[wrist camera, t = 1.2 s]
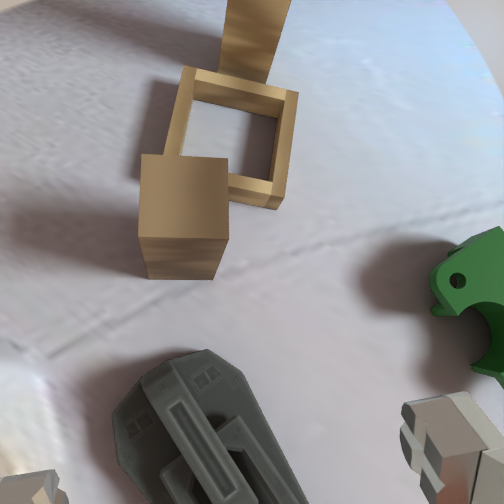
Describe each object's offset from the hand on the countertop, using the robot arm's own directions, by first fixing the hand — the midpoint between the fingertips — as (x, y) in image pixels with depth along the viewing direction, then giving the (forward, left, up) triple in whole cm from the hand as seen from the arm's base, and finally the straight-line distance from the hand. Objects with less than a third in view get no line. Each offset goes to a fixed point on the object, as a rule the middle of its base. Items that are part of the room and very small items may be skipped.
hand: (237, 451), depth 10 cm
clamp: (+20, +9, -21) cm, 30 cm away
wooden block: (-3, +10, -20) cm, 23 cm away
